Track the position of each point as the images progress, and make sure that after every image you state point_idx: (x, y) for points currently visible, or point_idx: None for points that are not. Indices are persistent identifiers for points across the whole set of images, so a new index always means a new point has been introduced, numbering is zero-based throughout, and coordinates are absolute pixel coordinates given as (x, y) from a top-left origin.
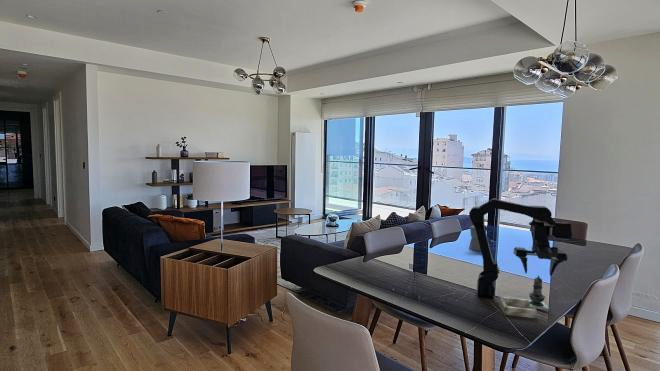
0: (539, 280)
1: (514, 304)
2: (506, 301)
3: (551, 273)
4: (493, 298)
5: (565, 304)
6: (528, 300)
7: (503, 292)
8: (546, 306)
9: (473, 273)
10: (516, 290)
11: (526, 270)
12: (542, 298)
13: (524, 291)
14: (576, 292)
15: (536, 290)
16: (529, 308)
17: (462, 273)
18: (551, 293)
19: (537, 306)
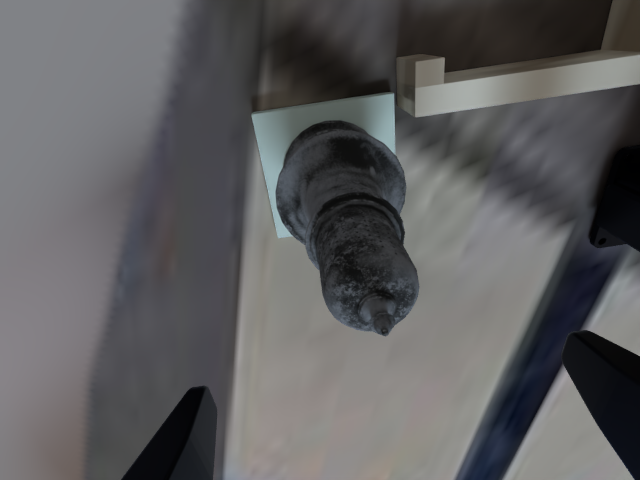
0: (367, 254)
1: (514, 65)
2: (592, 56)
3: (181, 418)
4: (620, 151)
5: (141, 275)
6: (424, 90)
7: (490, 303)
8: (264, 149)
9: (552, 468)
10: (402, 362)
11: (625, 364)
12: (303, 144)
13: (360, 367)
14: (100, 457)
15: (366, 189)
16: (399, 58)
17: (609, 450)
18: (219, 399)
19: (333, 114)
